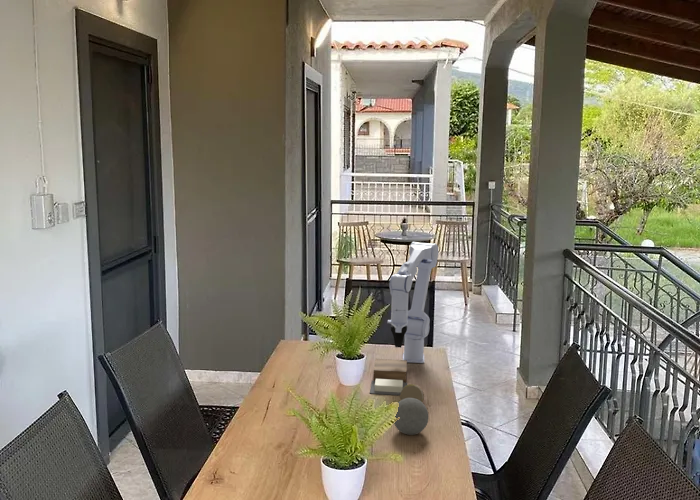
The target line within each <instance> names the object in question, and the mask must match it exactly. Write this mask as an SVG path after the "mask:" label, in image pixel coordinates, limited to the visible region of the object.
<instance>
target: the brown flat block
mask: <svg viewBox="0 0 700 500" xmlns="http://www.w3.org/2000/svg"><path fill="white" fill-rule="evenodd" d="M407 363H408V362H407V360H403V359H392V358H391V359H390V358H375V361H374V367H373V379H372V381H375V380H376V379H392V380H403V382H405V383H407V371H408V370H407V365H408V364H407Z"/></svg>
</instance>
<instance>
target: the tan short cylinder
mask: <svg viewBox="0 0 700 500" xmlns="http://www.w3.org/2000/svg"><path fill="white" fill-rule="evenodd" d="M399 396H400V401H401V400H403V399H405V398H415V399H418V400H420V401H421V402H422V403H423V402H424V398H425V394H424V390H423V388H422V387H420V386H419V385H417V384H414V383H410V384H407V386H405V387H404V388H403V389H402V391H401V395H399Z"/></svg>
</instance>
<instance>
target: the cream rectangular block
mask: <svg viewBox="0 0 700 500" xmlns="http://www.w3.org/2000/svg"><path fill="white" fill-rule="evenodd" d="M402 389H403V380H392V379H376V380H375V391H382V392H399V393H401V391H402Z"/></svg>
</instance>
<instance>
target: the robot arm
mask: <svg viewBox="0 0 700 500" xmlns="http://www.w3.org/2000/svg"><path fill="white" fill-rule="evenodd" d="M408 249H409V250H408V251H409V257H408V259H407V261H405V262H403V264H402V265H401V266H400V267H399V269H398V270H397V273H394V274H392V275H391V276H390V279H389V290H390V291H389V293H390V296H391V303H390V304H391V305H390V306H391V308H390V310H391V312H390V319H387V324H390V325H391V326H390V332H391V333H392V337H393V343H394V347H395V348H402V346H404V347H403V348H404V349H403V353H402V360H407V363H417V364H425V349H424V348H425V338H426V337H427V336H428V335H429V333H430V321H431V320H430V317H429V315H428V314H427V313H426V312H425V306H426V302H427V301H426V299H427V295H428V288H429V284H430V277H431V273H432V270H433V268H436V266H437V263H438V259H439V251H440V250H439V245H438V244H437V243H436V242H435V243H429V242H417V241H412V242H411V243H410V245H409V248H408ZM415 275H416V280H415V285H414V291H413V295H412V302H411V307H410V309H409V292H410V291H411V289H412V284H413V279H414V277H415ZM403 344H404V345H403Z"/></svg>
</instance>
